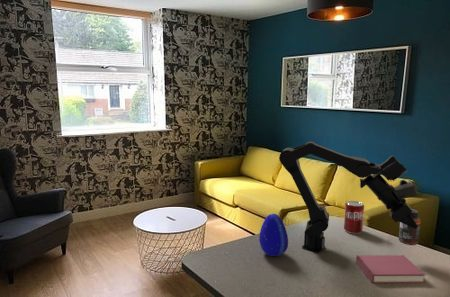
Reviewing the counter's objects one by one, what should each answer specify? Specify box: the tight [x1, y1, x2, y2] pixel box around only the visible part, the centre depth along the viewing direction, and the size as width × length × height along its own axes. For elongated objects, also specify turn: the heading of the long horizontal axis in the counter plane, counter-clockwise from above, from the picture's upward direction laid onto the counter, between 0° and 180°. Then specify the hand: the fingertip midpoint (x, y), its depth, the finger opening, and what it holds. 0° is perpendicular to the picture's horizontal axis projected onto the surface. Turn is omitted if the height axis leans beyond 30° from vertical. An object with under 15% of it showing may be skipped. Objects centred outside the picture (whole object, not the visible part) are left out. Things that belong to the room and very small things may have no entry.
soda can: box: [343, 200, 365, 235], centre depth 138 cm, size 7×7×12 cm
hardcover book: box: [355, 254, 426, 284], centre depth 106 cm, size 16×12×3 cm
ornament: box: [258, 213, 289, 257], centre depth 118 cm, size 11×9×15 cm
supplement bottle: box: [398, 208, 421, 246], centre depth 112 cm, size 6×6×11 cm
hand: (414, 224), depth 112 cm, fingers closed on supplement bottle, 6 cm apart
